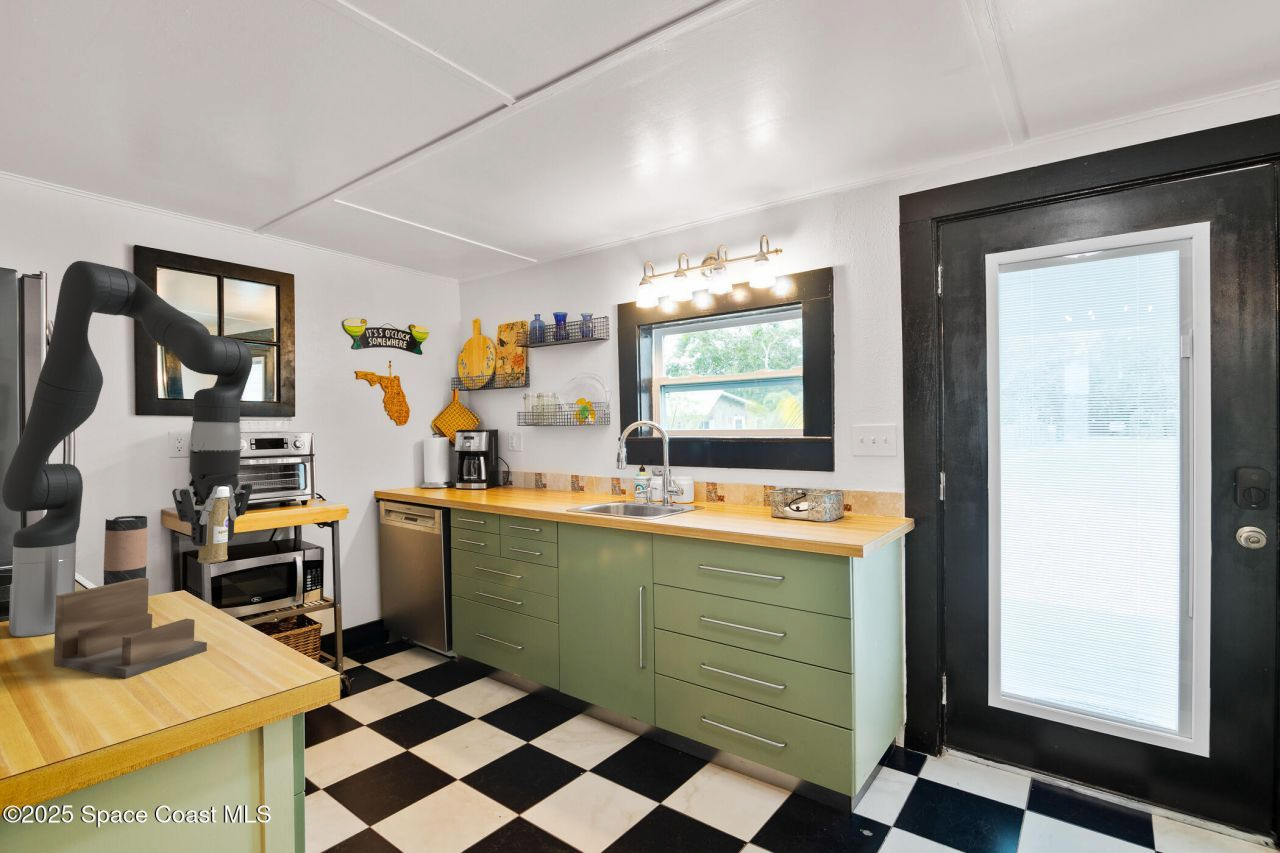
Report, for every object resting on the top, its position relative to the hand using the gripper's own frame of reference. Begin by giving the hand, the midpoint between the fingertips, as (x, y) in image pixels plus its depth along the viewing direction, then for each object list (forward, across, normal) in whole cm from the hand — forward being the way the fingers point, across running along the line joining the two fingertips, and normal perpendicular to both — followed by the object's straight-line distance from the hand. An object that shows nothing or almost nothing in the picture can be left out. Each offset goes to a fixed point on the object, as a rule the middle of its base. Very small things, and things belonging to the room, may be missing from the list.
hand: (212, 542), depth 112 cm
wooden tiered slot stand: (+21, +4, -12) cm, 24 cm away
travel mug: (+21, -19, -49) cm, 57 cm away
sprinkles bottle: (+3, 0, 0) cm, 3 cm away
